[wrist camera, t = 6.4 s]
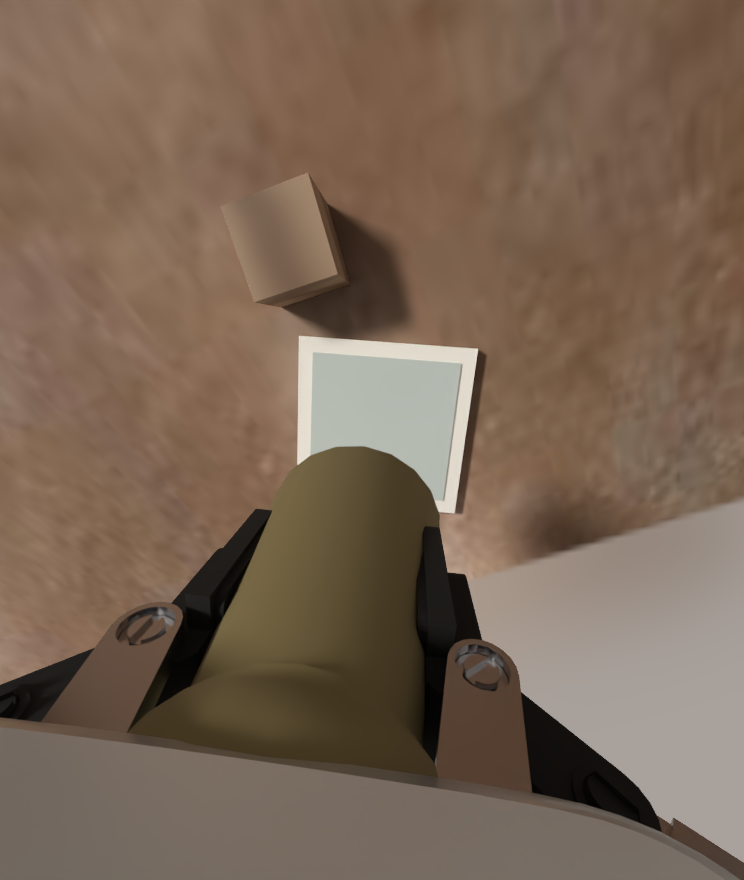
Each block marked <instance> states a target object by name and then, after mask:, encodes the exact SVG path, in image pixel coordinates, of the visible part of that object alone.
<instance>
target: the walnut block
mask: <svg viewBox="0 0 744 880" xmlns="http://www.w3.org/2000/svg"><path fill="white" fill-rule="evenodd" d="M221 209H222V212H223V215H224V218H225V221H226V223H227V226H228V229H229V232H230V235H231V238H232V240H233V243H234V246H235V249H236V252H237V255H238V258H239V260H240V263H241V266H242V269H243V272H244V275H245V277H246V280H247V283H248V286H249V289H250V292H251V294H252V297H253V300H254V302H256V303H261V304H267V305H272V306H277V307H284V306H287V305H290V304H293V303H296V302H299V301H302V300H305V299H308V298H311V297H314V296H317V295H320V294H323V293H326V292H329V291H333V290H336V289H339V288H342V287H345V286H348V285H350V281H349V278H348V274H347V271H346V267H345V264H344V260H343V257H342V253H341V250H340V246H339V243H338V239H337V236H336V232H335V229H334V225H333V222H332V218H331V215H330V211H329V208H328V204H327V202H326V201H325V199H324V198H323V196H322V194H321V193H320V191H319V189H318V188H317V186H316V185H315V183H314V181H313V180H312V178H311V177H310V175H309V173H305V174H303V175H300V176H298V177H295V178H293V179H290V180H287V181H285V182H282V183H280V184H277V185H275V186H272V187H269V188H267V189H264V190H262V191H259V192H257V193H254V194H251V195H249V196H246V197H244V198H241V199H238V200H236V201H233V202H231V203H228V204H226V205H223V206H221Z"/></svg>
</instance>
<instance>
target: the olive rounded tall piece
mask: <svg viewBox="0 0 744 880" xmlns="http://www.w3.org/2000/svg"><path fill="white" fill-rule="evenodd" d="M269 510H272V513H271V515H270V517H269V519H268V521H267V523H266V525H265V528H264V530H263V532H262V535H261V537H260V540H259V542H258V544H257V547H256V549H255V552H254V554H253V556H252V558H251V560H250V562H249V564H248V566H247V569H246V571H245V573H244V575H243V577H242V579H241V581H240V583H239V585H238V587H237V589H236V592H235V594H234V596H233V598H232V600H231V602H230V604H229V606H228V608H227V610H226V612H225V614H224V616H223V618H222V619H221V621H220V622H219V624H218V625H217V628H216V630H215V632H214V634H213V637H212V639H211V641H210V643H209V646H208V648H207V650H206V652H205V655H204V657H203V659H202V661H201V664H200V666H199V668H198V670H197V673H196V675H195V677H194V679H193V682H192V684H191V686H190V687H188V688H186V689H184V690H182V691H181V692H179V693H178V694H176V695H174V696H173V697H171V698H170V699H168V700H166V701H165V702H163V703H162V704H160V705H159V706H157V707H155V708H154V709H152V710H151V711H149V712H148V713H146V714H145V715H144V716H143V717H142V718H141V719H140V720H139V721H138V722H137V723H136V724H135V725H134V726H133V727H132V728H131V729H130V730H129V731H128V732H127V733H130V734H137V735H145V736H152V737H160V738H167V739H174V740H179V741H182V742H186V743H189V744H193V745H199V746H205V747H211V748H217V749H222V750H228V751H234V752H240V753H246V754H252V755H258V756H263V757H273V758H284V759H295V760H306V761H317V762H327V763H338V764H351V765H358V766H364V767H371V768H378V769H385V770H391V771H398V772H405V773H412V774H418V775H425V776H432V777H438V774H437V770H436V766H435V764H434V762H433V761H432V759H431V758H430V757H429V755H428V754H427V753H426V751H425V750H424V749H423V736H424V723H425V652H424V649H423V647H422V644H421V642H420V639H419V637H418V634H417V583H416V579H417V575H418V571H419V567H420V562H421V558H422V554H423V539H422V533H423V529H424V527H425V526H430V527H439V512H438V509H437V506H436V503H435V500H434V498H433V495H432V492H431V490H430V489H429V487H428V486H427V485H426V484H425V482H424V481H423V480H422V479H421V477H420V476H419V475H418V473H417V472H416V471H415V470H414V469H413V468H411V467H410V466H408V465H407V464H405V463H404V462H402V461H401V460H399V459H398V458H396V457H395V456H393V455H392V454H389V453H385V452H382V451H379V450H375V449H372V448H369V447H365V446H344V447H334V448H331V449H328V450H325V451H322V452H319V453H316V454H313V455H310V456H309V457H308V458H307V459H305V460H304V461H303V462H301V463H300V464H299V465H297V466H296V467H295V468H293V469H292V470H291V471H290V472H289V474H288V475H287V477H286V478H285V480H284V482H283V483H282V485H281V486H280V488H279V489H278V491H277V493H276V495H275V498H274V500H273V502H272V504H271V506H270V509H269Z"/></svg>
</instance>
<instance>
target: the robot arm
mask: <svg viewBox="0 0 744 880" xmlns="http://www.w3.org/2000/svg"><path fill="white" fill-rule="evenodd" d="M271 513H272V510H263V509H256V510H255V511H254V512H253V513H252V514H251V515H250V517H249V518H248V519H247V520H246V521H245V522H244V524H243V525H242V526H241V527H240V528H239V530H238V531H237V532H236V533H235V534H234V536H233V537H232V538H231V539H230V540H229V542H228V543H227V544H226V545H225V546H224V548H220V549H218V550H217V551H216V552H215V553H214V554H213V555H212V556H211V558H210V559H209V560H208V561H207V562H206V563H205V565H204V566H203V567H202V568H201V569H200V570H199V572H198V573H197V574H196V575H195V576H194V578H193V579H192V580H191V581H190V582H189V583H188V585H187V586H186V587H185V588H184V589H183V590H182V592H181V593H180V594H179V595H178V596H177V597H176V599H175V600H174V601H173V602H172V603H166V602H156V603H149V604H145V605H142V606H138V607H136V608H134V609H132V610H130V611H128V612H126V613H125V614H123V615H122V616H121V617H119V618H118V619H117V620H116V621H115V622H114V623H113V624H112V625H111V626H110V628H109V629H108V631H107V632H106V633H105V635H104V636H103V637H102V639H101V640H100V642H99V643H98V644H97V646H96V647H95V648H93V649H91V650H88V651H86V652H83V653H80V654H78V655H75V656H73V657H70V658H68V659H65V660H63V661H60V662H58V663H55V664H52V665H50V666H47V667H45V668H42V669H40V670H37V671H35V672H32V673H30V674H27V675H25V676H22V677H19V678H17V679H14V680H12V681H9V682H7V683H4V684H2V685H0V880H744V863H743V862H741V861H740V860H738V859H737V858H735V857H734V856H732V855H731V854H729V853H727V852H726V851H724V850H723V849H721V848H720V847H718V846H717V845H715V844H714V843H712V842H710V841H709V840H707V839H706V838H704V837H703V836H701V835H699V834H698V833H697V832H695V831H693V830H692V829H690V828H689V827H687V826H686V825H684V824H683V823H681V822H679V821H678V820H676V819H675V818H673V819H672V822H671V824H669V823H668V822H666V821H665V820H663V819H662V818H660V817H659V816H657V815H656V814H655V812H654V810H653V808H652V806H651V804H650V802H649V801H648V800H647V798H646V797H645V796H644V794H643V793H642V792H641V790H640V789H639V788H638V787H637V786H636V785H635V784H634V783H633V782H632V781H631V780H630V779H629V778H627V776H625V775H624V774H623V773H622V772H621V771H619V770H618V769H617V768H616V767H614V766H613V765H612V764H611V763H609V762H608V761H607V760H606V759H604V758H603V757H602V756H601V755H599V754H598V753H597V752H596V751H594V750H593V749H592V748H590V747H589V746H588V745H586V744H585V743H584V742H583V741H582V740H580V739H579V738H578V737H577V736H575V735H574V734H573V733H572V732H570V731H569V730H568V729H567V728H565V727H564V726H563V725H562V724H560V723H559V722H558V721H557V720H555V719H554V718H553V717H552V716H550V715H549V714H548V713H546V712H545V711H544V710H543V709H542V708H540V707H539V706H538V705H537V704H535V703H534V702H533V701H531V700H530V699H529V698H528V697H526V696H525V695H524V694H523V693H521V690H520V681H519V675H518V671H517V668H516V666H515V664H514V663H513V661H512V659H511V658H510V657H509V656H508V655H507V654H506V653H505V652H504V651H503V650H501V649H500V648H498V647H497V646H495V645H493V644H491V643H488V642H486V641H483V640H482V638H481V634H480V630H479V626H478V622H477V618H476V614H475V610H474V606H473V602H472V598H471V594H470V591H469V586H468V582H467V578H466V576H465V575H464V574H456V573H447V568H446V562H445V556H444V551H443V545H442V539H441V534H440V528H439V527H430V526H425V527H424V529H423V533H422V539H423V554H422V558H421V562H420V567H419V571H418V575H417V579H416V583H417V634H418V637H419V639H420V642H421V644H422V647H423V649H424V652H425V723H424V736H423V749H424V750H425V751H426V753H427V754H428V755H429V757H430V758H431V759H432V761H433V762H434V764H435V766H436V770H437V774H438V777H432V776H425V775H418V774H412V773H405V772H398V771H391V770H385V769H378V768H371V767H364V766H358V765H351V764H338V763H327V762H317V761H306V760H295V759H284V758H273V757H263V756H258V755H252V754H246V753H240V752H234V751H228V750H222V749H217V748H211V747H205V746H199V745H193V744H189V743H186V742H182V741H179V740H174V739H167V738H160V737H152V736H145V735H137V734H130V733H127V732H128V731H129V730H130V729H131V728H132V727H133V726H134V725H135V724H136V723H137V722H138V721H139V720H140V719H141V718H142V717H143V716H144V715H145V714H146V713H148V712H149V711H151V710H152V709H154V708H155V707H157V706H159V705H160V704H162V703H163V702H165V701H166V700H168V699H170V698H171V697H173V696H174V695H176V694H178V693H179V692H181V691H182V690H184V689H186V688H188V687H190V686H191V684H192V682H193V679H194V677H195V675H196V673H197V670H198V668H199V666H200V664H201V661H202V659H203V657H204V655H205V652H206V650H207V648H208V646H209V643H210V641H211V639H212V637H213V634H214V632H215V630H216V628H217V625H218V624H219V622H220V621H221V619H222V618H223V616H224V614H225V612H226V610H227V608H228V606H229V604H230V602H231V600H232V598H233V596H234V594H235V592H236V589H237V587H238V585H239V583H240V581H241V579H242V577H243V575H244V573H245V571H246V569H247V566H248V564H249V562H250V560H251V558H252V556H253V554H254V552H255V549H256V547H257V544H258V542H259V540H260V537H261V535H262V532H263V530H264V528H265V525H266V523H267V521H268V519H269V517H270V515H271Z"/></svg>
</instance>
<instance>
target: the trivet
mask: <svg viewBox="0 0 744 880" xmlns="http://www.w3.org/2000/svg"><path fill="white" fill-rule="evenodd" d="M477 354H478V349H476V348H463V347H450V346H436V345H422V344H409V343H395V342H381V341H367V340H354V339H340V338H326V337H313V336H299V382H298V460H297V465H299V464H300V463H301V462H303V461H304V460H305V459H307V458H308V457H309V456H310V455H313V454H316V453H319V452H322V451H325V450H328V449H331V448H334V447H344V446H365V447H369V448H372V449H375V450H379V451H382V452H385V453H389V454H392V455H393V456H395V457H396V458H398V459H399V460H401V461H402V462H404V463H405V464H407V465H408V466H410V467H411V468H413V469H414V470H415V471H416V472H417V473H418V475H419V476H420V477H421V479H422V480H423V481H424V482H425V484H426V485H427V486H428V487H429V489H430V490H431V492H432V495H433V498H434V500H435V503H436V506H437V509H438V512H445V513H455V507H456V500H457V493H458V486H459V479H460V472H461V465H462V458H463V451H464V444H465V437H466V430H467V423H468V416H469V410H470V403H471V396H472V389H473V382H474V375H475V368H476V361H477Z"/></svg>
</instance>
